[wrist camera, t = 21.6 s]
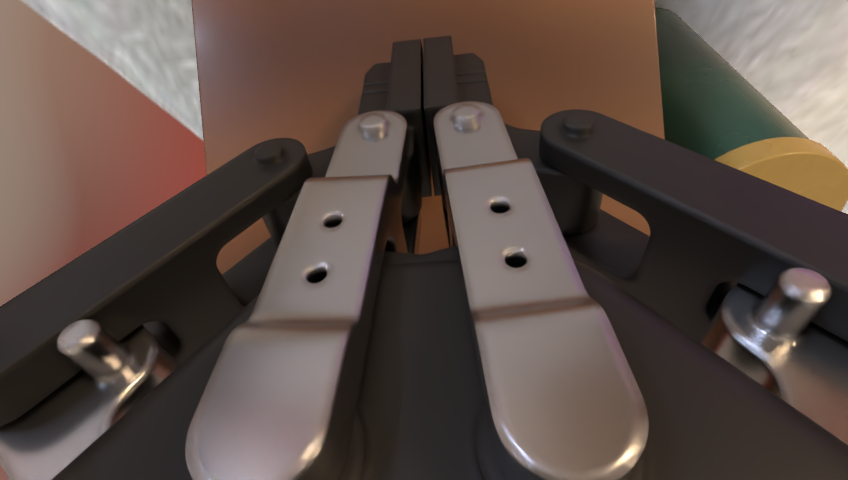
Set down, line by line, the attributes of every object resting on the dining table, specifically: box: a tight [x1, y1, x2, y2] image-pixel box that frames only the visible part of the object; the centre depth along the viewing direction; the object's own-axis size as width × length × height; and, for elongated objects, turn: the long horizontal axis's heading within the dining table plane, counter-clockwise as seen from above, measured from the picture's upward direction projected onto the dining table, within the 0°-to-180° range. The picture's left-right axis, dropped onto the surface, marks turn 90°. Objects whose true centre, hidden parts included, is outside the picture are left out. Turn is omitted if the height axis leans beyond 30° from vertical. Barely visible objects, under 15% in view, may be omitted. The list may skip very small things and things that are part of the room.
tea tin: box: [655, 8, 848, 211], centre depth 22 cm, size 6×6×14 cm
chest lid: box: [192, 0, 665, 274], centre depth 13 cm, size 16×13×1 cm
